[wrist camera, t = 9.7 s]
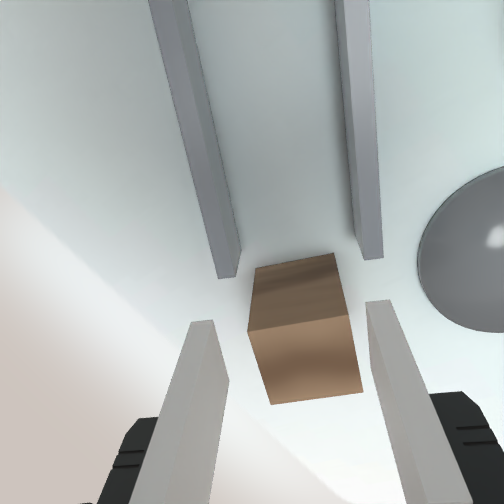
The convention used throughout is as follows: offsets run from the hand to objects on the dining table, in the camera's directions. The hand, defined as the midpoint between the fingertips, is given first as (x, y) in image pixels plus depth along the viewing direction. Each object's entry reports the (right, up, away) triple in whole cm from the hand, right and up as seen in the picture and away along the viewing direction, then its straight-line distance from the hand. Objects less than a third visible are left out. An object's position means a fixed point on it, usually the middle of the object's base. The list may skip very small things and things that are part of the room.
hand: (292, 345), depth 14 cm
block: (+3, 0, +19) cm, 19 cm away
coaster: (+17, +3, +16) cm, 24 cm away
